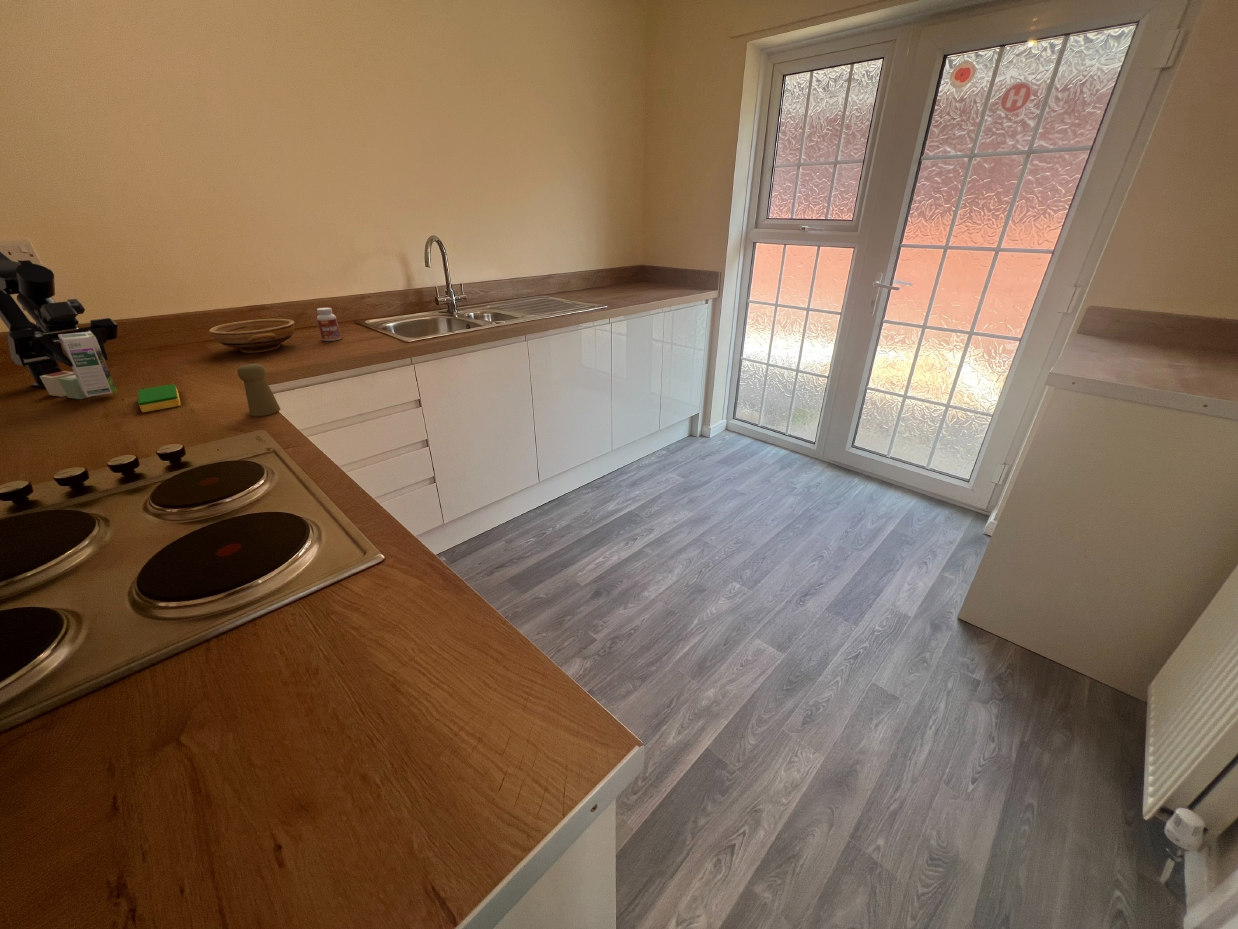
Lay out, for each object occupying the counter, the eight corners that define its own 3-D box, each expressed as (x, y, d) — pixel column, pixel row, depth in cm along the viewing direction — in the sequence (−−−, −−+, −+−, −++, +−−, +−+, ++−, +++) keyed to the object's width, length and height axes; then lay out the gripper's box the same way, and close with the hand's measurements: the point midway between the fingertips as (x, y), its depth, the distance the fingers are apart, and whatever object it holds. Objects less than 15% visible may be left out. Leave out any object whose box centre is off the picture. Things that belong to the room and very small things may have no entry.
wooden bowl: (311, 349, 170) (304, 325, 166) (225, 363, 155) (215, 337, 152) (289, 336, 189) (283, 315, 186) (211, 347, 175) (202, 324, 171)
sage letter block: (67, 397, 127) (57, 378, 125) (91, 391, 131) (82, 372, 129) (80, 399, 125) (70, 379, 123) (104, 393, 130) (94, 374, 127)
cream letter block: (49, 395, 129) (39, 375, 127) (73, 389, 133) (63, 370, 131) (61, 396, 128) (51, 377, 125) (85, 390, 132) (75, 371, 130)
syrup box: (86, 398, 122) (61, 339, 115) (81, 390, 125) (56, 333, 118) (118, 393, 126) (95, 336, 119) (112, 386, 129) (90, 330, 122)
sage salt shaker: (248, 418, 112) (230, 370, 107) (251, 409, 117) (235, 363, 112) (279, 413, 115) (263, 366, 110) (281, 405, 120) (266, 360, 115)
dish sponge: (178, 392, 130) (174, 383, 128) (181, 405, 120) (177, 396, 119) (142, 398, 125) (138, 389, 124) (142, 413, 116) (137, 403, 115)
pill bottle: (324, 342, 180) (315, 310, 175) (321, 339, 184) (312, 308, 180) (342, 339, 183) (334, 308, 178) (340, 337, 188) (332, 306, 183)
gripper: (-15, 294, 109) (34, 350, 109) (95, 284, 123) (138, 333, 124) (-9, 327, 115) (37, 380, 116) (95, 314, 130) (135, 361, 131)
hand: (89, 362), depth 121 cm, fingers closed on syrup box, 6 cm apart
